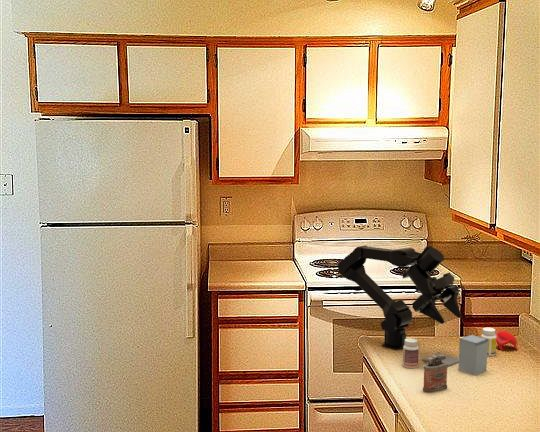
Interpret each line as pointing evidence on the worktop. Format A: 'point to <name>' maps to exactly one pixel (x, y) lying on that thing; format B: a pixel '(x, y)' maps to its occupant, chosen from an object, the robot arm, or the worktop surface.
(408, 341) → the pill bottle
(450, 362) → the coaster
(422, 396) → the worktop surface
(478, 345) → the cover
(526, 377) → the worktop surface
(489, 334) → the supplement bottle
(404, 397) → the worktop surface
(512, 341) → the red plastic curved piece
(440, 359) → the lighter
